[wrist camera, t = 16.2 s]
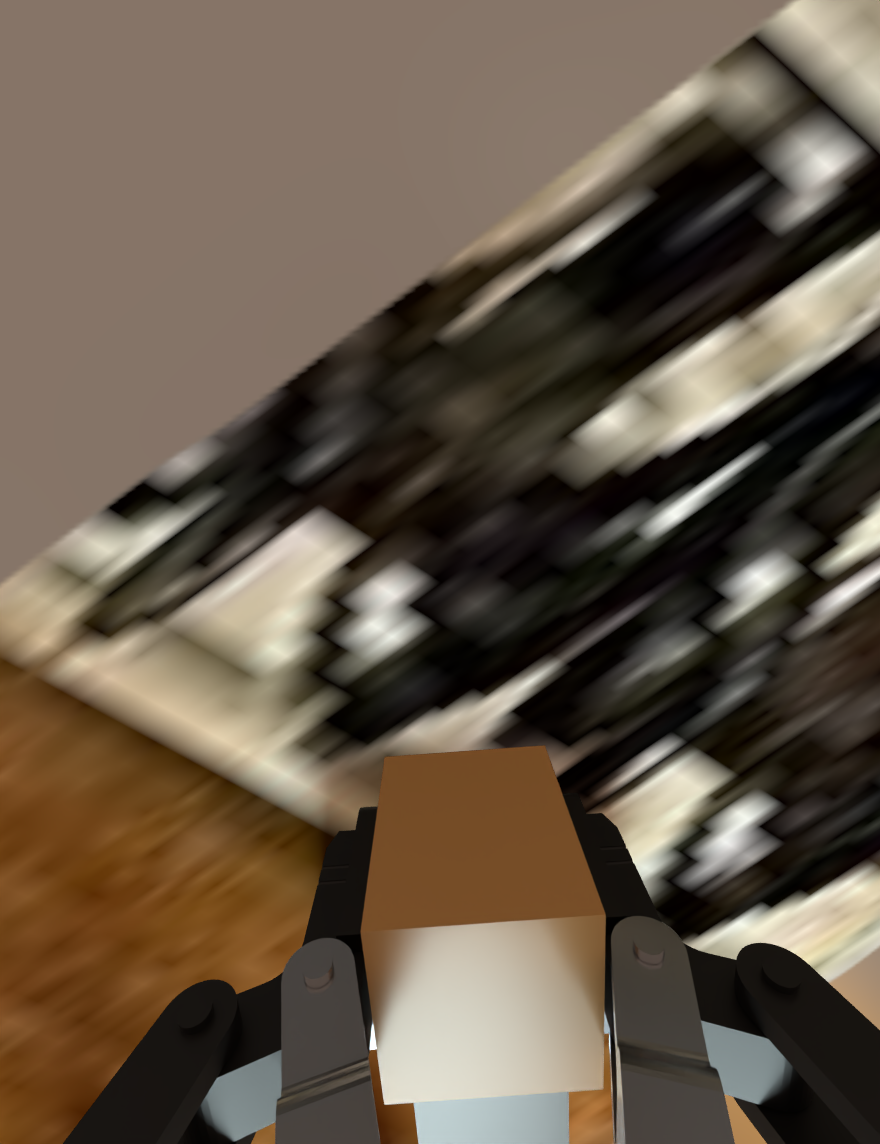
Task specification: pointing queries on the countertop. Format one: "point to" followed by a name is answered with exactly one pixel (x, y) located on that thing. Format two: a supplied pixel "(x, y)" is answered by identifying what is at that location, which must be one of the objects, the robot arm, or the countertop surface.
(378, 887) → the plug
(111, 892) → the countertop surface
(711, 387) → the countertop surface
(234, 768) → the countertop surface
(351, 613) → the countertop surface
